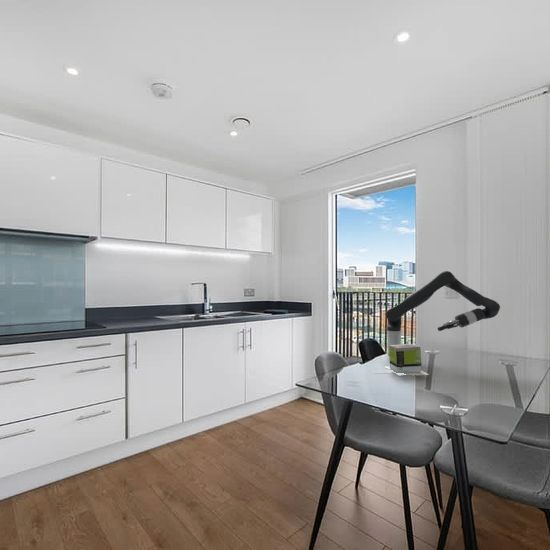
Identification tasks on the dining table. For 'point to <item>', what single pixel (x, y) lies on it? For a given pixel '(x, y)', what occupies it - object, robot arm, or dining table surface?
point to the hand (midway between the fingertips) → (438, 329)
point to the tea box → (405, 358)
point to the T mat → (411, 372)
